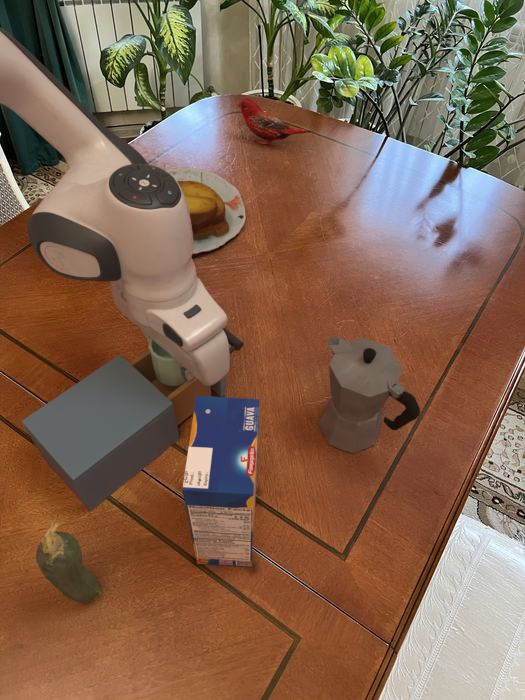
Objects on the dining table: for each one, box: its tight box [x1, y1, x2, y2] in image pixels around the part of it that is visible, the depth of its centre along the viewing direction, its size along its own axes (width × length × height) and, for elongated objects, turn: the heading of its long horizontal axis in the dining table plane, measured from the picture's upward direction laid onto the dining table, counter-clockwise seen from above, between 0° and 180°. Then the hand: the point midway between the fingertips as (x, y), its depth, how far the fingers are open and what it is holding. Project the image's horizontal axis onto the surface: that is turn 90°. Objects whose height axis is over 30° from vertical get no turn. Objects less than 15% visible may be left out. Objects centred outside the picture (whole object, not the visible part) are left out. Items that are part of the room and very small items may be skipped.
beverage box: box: [181, 395, 260, 568], centre depth 67 cm, size 7×11×22 cm, turn 177°
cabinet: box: [21, 354, 180, 512], centre depth 78 cm, size 16×12×10 cm
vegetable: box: [35, 520, 102, 605], centre depth 62 cm, size 4×4×20 cm
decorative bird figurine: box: [236, 97, 312, 147], centre depth 126 cm, size 3×18×10 cm, turn 67°
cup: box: [148, 339, 188, 386], centre depth 80 cm, size 6×6×6 cm
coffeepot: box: [318, 336, 421, 454], centre depth 78 cm, size 15×9×18 cm, turn 43°
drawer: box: [128, 327, 244, 427], centre depth 84 cm, size 20×10×8 cm, turn 136°
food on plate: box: [164, 167, 247, 255], centre depth 112 cm, size 25×25×7 cm
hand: (172, 360), depth 81 cm, fingers closed on cup, 6 cm apart
